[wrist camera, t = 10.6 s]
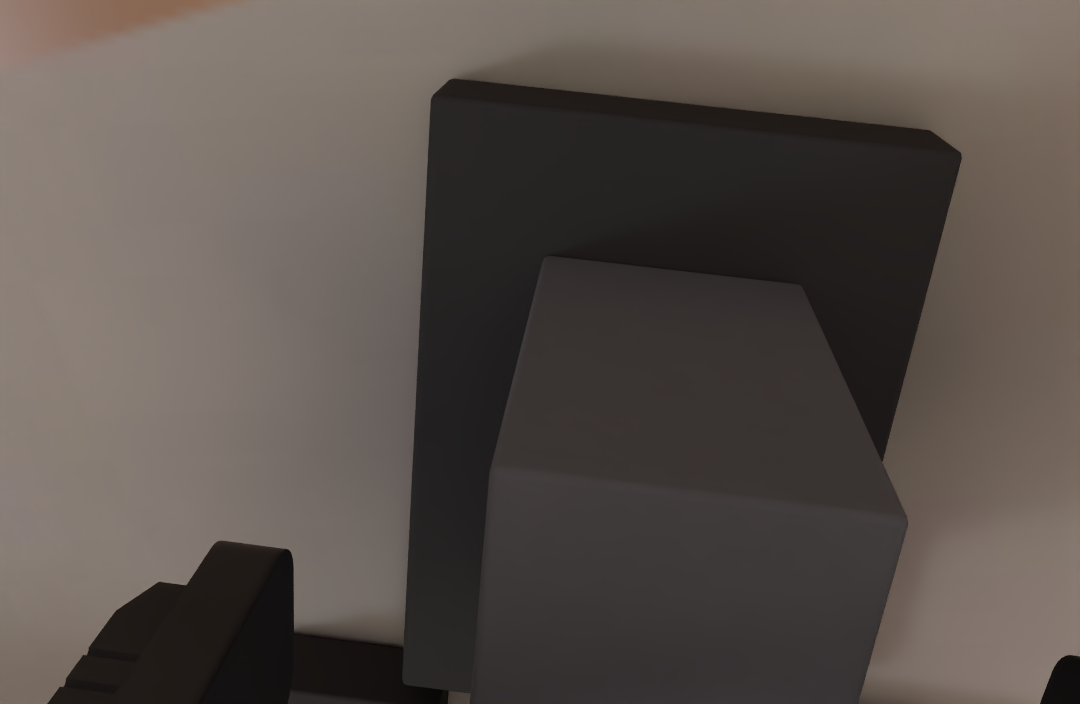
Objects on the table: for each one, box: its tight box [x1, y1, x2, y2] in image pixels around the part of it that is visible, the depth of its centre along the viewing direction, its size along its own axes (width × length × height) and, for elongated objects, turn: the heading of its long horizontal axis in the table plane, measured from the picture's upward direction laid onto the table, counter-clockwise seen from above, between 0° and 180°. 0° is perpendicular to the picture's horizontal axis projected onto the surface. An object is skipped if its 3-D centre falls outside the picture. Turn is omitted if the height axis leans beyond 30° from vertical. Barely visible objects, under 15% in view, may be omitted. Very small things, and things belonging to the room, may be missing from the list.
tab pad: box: [402, 79, 962, 704], centre depth 14 cm, size 14×7×8 cm, turn 175°
